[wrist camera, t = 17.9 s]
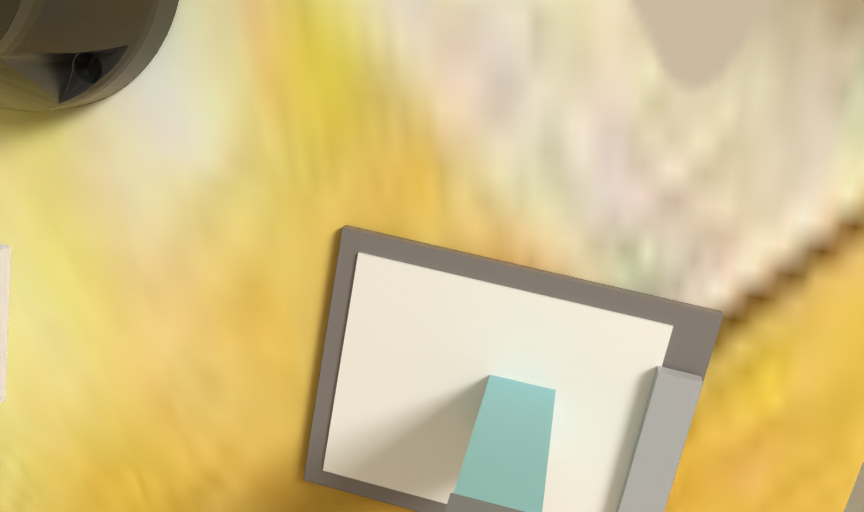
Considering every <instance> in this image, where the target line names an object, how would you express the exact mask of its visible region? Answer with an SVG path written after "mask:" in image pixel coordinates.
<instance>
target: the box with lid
mask: <svg viewBox="0 0 864 512" xmlns="http://www.w3.org/2000/svg"><path fill="white" fill-rule="evenodd" d="M555 393H556V390H553V389H549V388H545V387H541V386H536V385H532V384H528V383H524V382H520V381H515V380H511V379H507V378H503V377H498V376H494V375H490V377H489V380H488V383H487V387H486V390H485V393H484V396H483V400H482V403H481V406H480V409H479V413H478V416H477V419H476V422H475V426H474V429H473V432H472V435H471V439H470V442H469V445H468V448H467V452H466V455H465V458H464V461H463V465H462V468H461V471H460V474H459V478H458V481H457V484H456V487H455V491H454V493H450V496H449V500H448V503H447V506H446V509H445V512H542V509H543V500H544V491H545V483H546V474H547V465H548V456H549V447H550V438H551V429H552V420H553V411H554V402H555Z"/></svg>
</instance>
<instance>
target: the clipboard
mask: <svg viewBox="0 0 864 512" xmlns="http://www.w3.org/2000/svg"><path fill="white" fill-rule="evenodd" d="M722 318H723V314H722V312H721V311H718V310H713V309H709V308H704V307H700V306H696V305H691V304H687V303H683V302H678V301H674V300H670V299H665V298H661V297H657V296H652V295H648V294H644V293H639V292H635V291H631V290H626V289H622V288H617V287H613V286H609V285H604V284H600V283H596V282H591V281H587V280H583V279H578V278H574V277H570V276H565V275H561V274H557V273H552V272H548V271H544V270H539V269H535V268H530V267H526V266H522V265H517V264H513V263H509V262H504V261H500V260H496V259H491V258H487V257H483V256H478V255H474V254H470V253H465V252H461V251H457V250H452V249H448V248H443V247H439V246H435V245H430V244H426V243H422V242H417V241H413V240H409V239H404V238H400V237H396V236H391V235H387V234H383V233H378V232H374V231H370V230H365V229H361V228H356V227H352V226H348V225H346V226H344V227H343V228H342V235H341V241H340V248H339V254H338V261H337V267H336V273H335V280H334V286H333V293H332V299H331V306H330V312H329V318H328V325H327V331H326V338H325V344H324V351H323V357H322V364H321V370H320V376H319V383H318V389H317V396H316V402H315V409H314V415H313V422H312V428H311V434H310V441H309V447H308V454H307V460H306V467H305V473H304V480H305V481H308V482H312V483H316V484H319V485H323V486H327V487H330V488H334V489H338V490H341V491H345V492H349V493H352V494H356V495H360V496H363V497H367V498H370V499H374V500H378V501H381V502H385V503H389V504H392V505H396V506H400V507H403V508H407V509H411V510H414V511H418V512H445V509H446V506H447V503H448V500H449V496H450V493H454V491H455V487H456V484H457V481H458V478H459V474H460V471H461V468H462V465H463V461H464V458H465V455H466V452H467V448H468V445H469V442H470V439H471V435H472V432H473V429H474V426H475V422H476V419H477V416H478V413H479V409H480V406H481V403H482V400H483V396H484V393H485V390H486V387H487V383H488V380H489V377H490V375H494V376H498V377H503V378H507V379H511V380H515V381H520V382H524V383H528V384H532V385H536V386H541V387H545V388H549V389H553V390H556V393H555V402H554V411H553V420H552V429H551V438H550V447H549V456H548V465H547V474H546V483H545V491H544V500H543V509H542V512H664V510H665V507H666V503H667V500H668V497H669V494H670V490H671V487H672V484H673V480H674V477H675V474H676V471H677V467H678V464H679V461H680V457H681V454H682V451H683V448H684V444H685V441H686V438H687V435H688V431H689V428H690V425H691V421H692V418H693V415H694V412H695V408H696V405H697V402H698V399H699V395H700V392H701V389H702V385H703V380H704V377H705V374H706V370H707V367H708V364H709V360H710V357H711V354H712V351H713V347H714V344H715V341H716V338H717V334H718V331H719V328H720V324H721V321H722Z"/></svg>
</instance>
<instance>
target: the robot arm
mask: <svg viewBox="0 0 864 512" xmlns="http://www.w3.org/2000/svg"><path fill="white" fill-rule="evenodd" d="M178 2H179V0H0V108H4V109H9V110H18V111H49V110H56V109H63V108H70V107H76V106H82V105H86V104H90V103H93V102H95V101H98V100H101V99H103V98H105V97H108V96H110V95H111V94H113V93H115V92H117V91H118V90H120V89H121V88H123V87H124V86H126V85H127V84H128V83H129V82H131V81H132V80H133V79H134V78H135V77H136V76H138V75H139V74H140V73H141V72H142V71H143V69H144V68H145V67H146V66H147V65H148V64H149V63H150V61H151V60H152V59H153V57H154V56H155V55H156V53H157V51H158V50H159V48H160V47H161V45H162V43H163V41H164V39H165V37H166V36H167V33H168V31H169V29H170V26H171V24H172V21H173V18H174V16H175V13H176V9H177V5H178ZM10 262H11V246H7V245H3V244H0V404H1V403H2V402H4V401H5V393H6V366H7V340H8V314H9V288H10ZM844 512H864V462H863V464H862V467H861V469H860V472H859V474H858V477H857V479H856V482H855V485H854V487H853V490H852V492H851V495H850V498H849V500H848V503H847V505H846V508H845V510H844Z"/></svg>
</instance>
